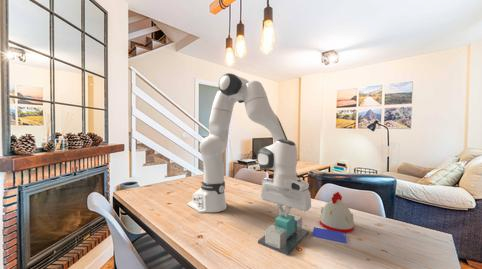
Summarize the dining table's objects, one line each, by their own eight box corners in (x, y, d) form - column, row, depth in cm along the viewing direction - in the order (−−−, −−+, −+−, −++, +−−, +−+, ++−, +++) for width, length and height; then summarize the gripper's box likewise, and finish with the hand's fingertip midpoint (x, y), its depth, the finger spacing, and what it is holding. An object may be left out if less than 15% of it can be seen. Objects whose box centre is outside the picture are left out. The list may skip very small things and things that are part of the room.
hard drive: (346, 232, 84) (314, 226, 89) (346, 242, 77) (311, 234, 82) (346, 236, 84) (314, 230, 89) (346, 246, 77) (311, 238, 82)
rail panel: (257, 243, 77) (258, 227, 77) (282, 224, 93) (282, 211, 93) (287, 255, 70) (287, 237, 70) (308, 233, 85) (309, 218, 85)
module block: (274, 234, 80) (274, 218, 80) (282, 227, 86) (283, 213, 85) (286, 238, 77) (286, 222, 77) (294, 231, 82) (294, 216, 82)
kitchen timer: (313, 224, 94) (314, 191, 93) (328, 216, 103) (329, 186, 102) (345, 236, 83) (346, 199, 83) (359, 226, 92) (360, 193, 92)
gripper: (258, 178, 85) (257, 211, 86) (306, 187, 72) (305, 226, 73) (266, 175, 90) (265, 207, 90) (313, 184, 77) (312, 220, 78)
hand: (283, 215), depth 81 cm, fingers closed
